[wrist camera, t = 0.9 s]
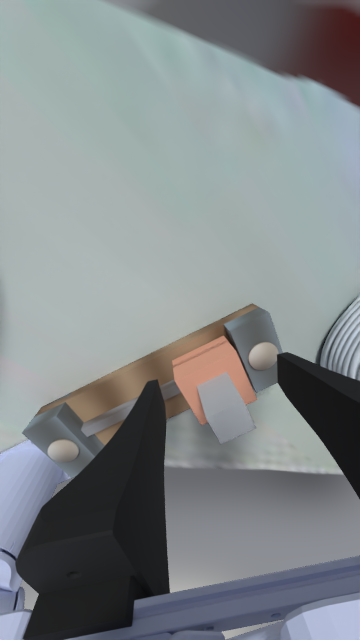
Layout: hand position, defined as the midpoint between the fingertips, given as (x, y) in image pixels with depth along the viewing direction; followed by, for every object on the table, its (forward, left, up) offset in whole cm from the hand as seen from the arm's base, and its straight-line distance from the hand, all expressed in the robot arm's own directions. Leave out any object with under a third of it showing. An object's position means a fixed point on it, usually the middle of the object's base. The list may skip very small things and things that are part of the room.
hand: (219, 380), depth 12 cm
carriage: (-1, -5, -9) cm, 10 cm away
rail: (-7, -5, -10) cm, 13 cm away
